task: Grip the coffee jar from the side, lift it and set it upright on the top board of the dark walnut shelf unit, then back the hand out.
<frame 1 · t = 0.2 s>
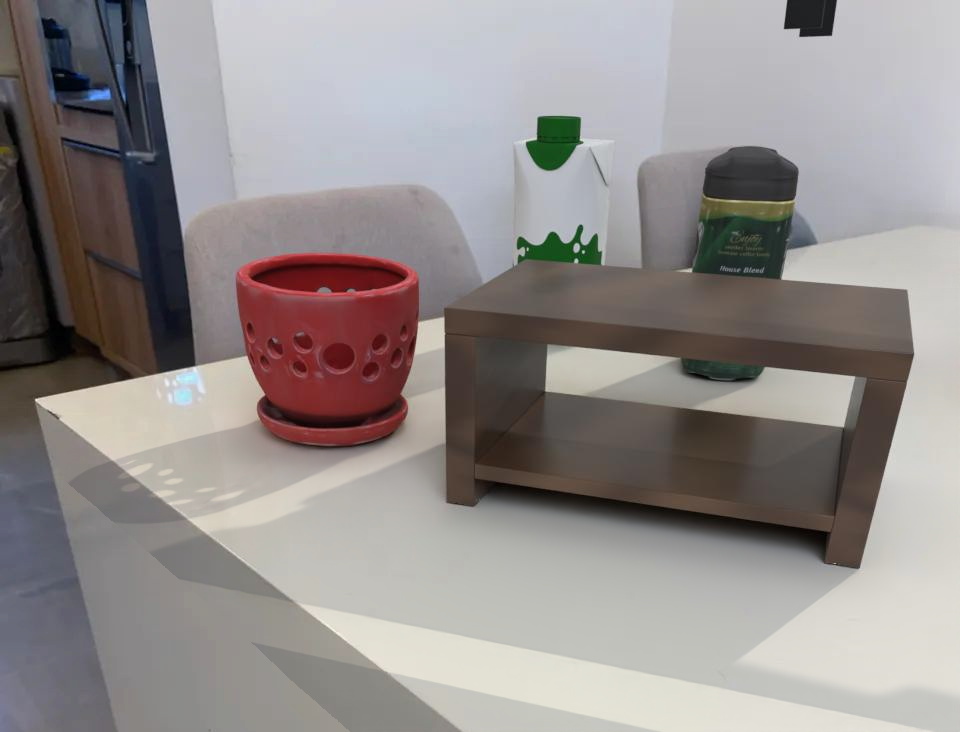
hand: (809, 33, 77), 27 cm above the table, tool pointing down, fingers open, 13 cm apart
flower pot: (338, 431, 74), on the table
coffee jar: (721, 370, 89), on the table
milk carton: (556, 335, 99), on the table
shelf: (663, 486, 65), on the table
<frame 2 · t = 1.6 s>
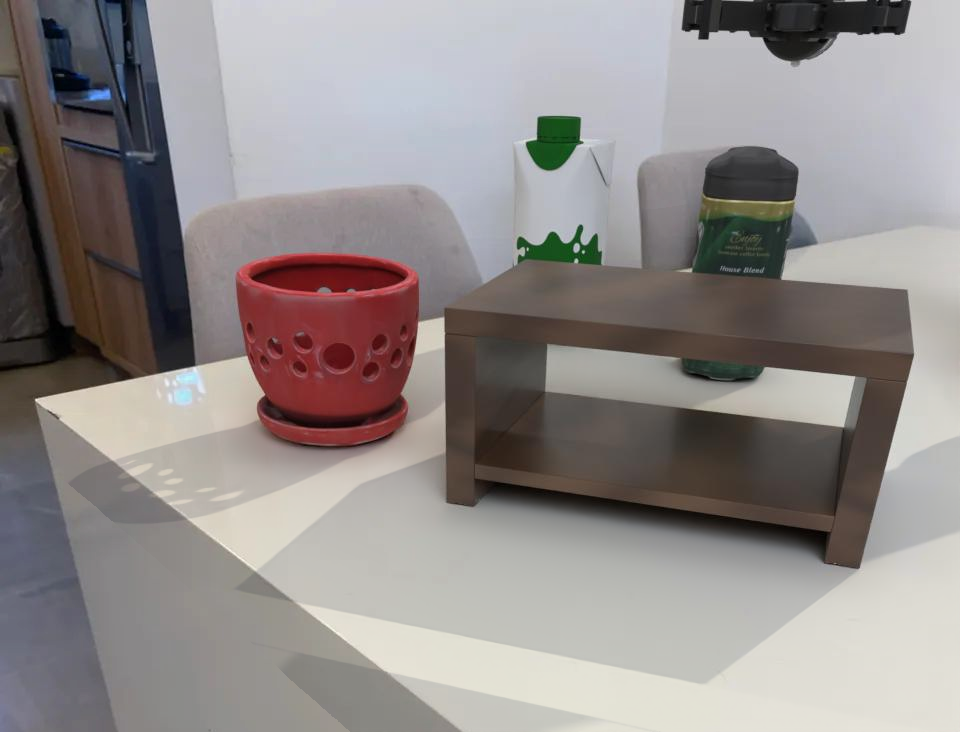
hand: (785, 14, 81), 28 cm above the table, tool horizontal, fingers open, 13 cm apart
nothing on the table moved.
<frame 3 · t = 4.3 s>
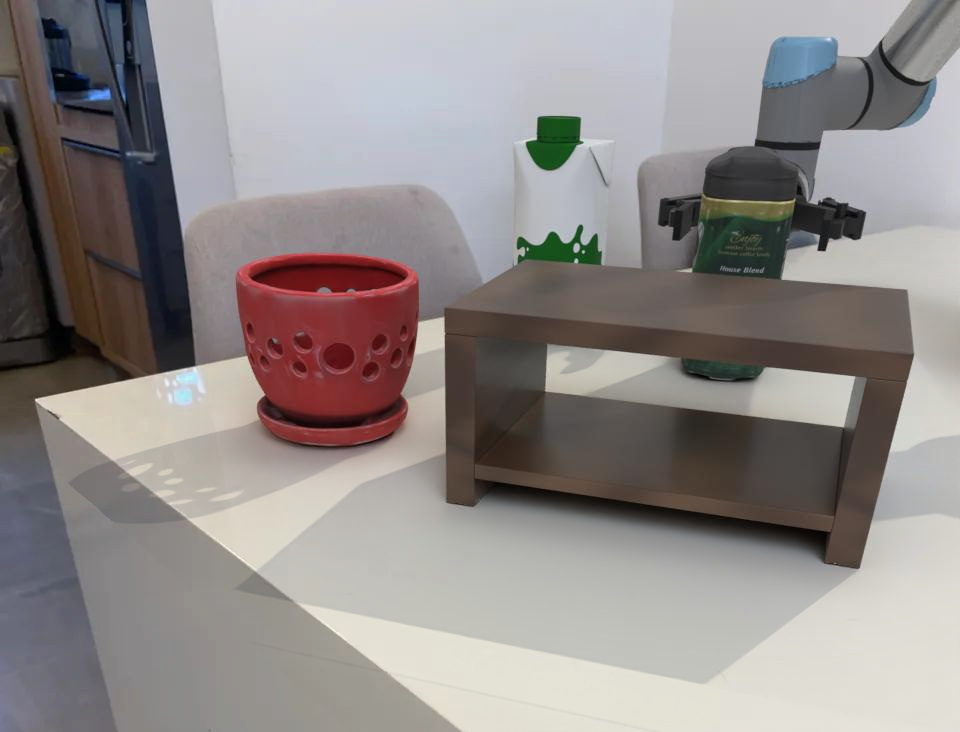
hand: (749, 230, 89), 11 cm above the table, tool horizontal, fingers open, 13 cm apart
nothing on the table moved.
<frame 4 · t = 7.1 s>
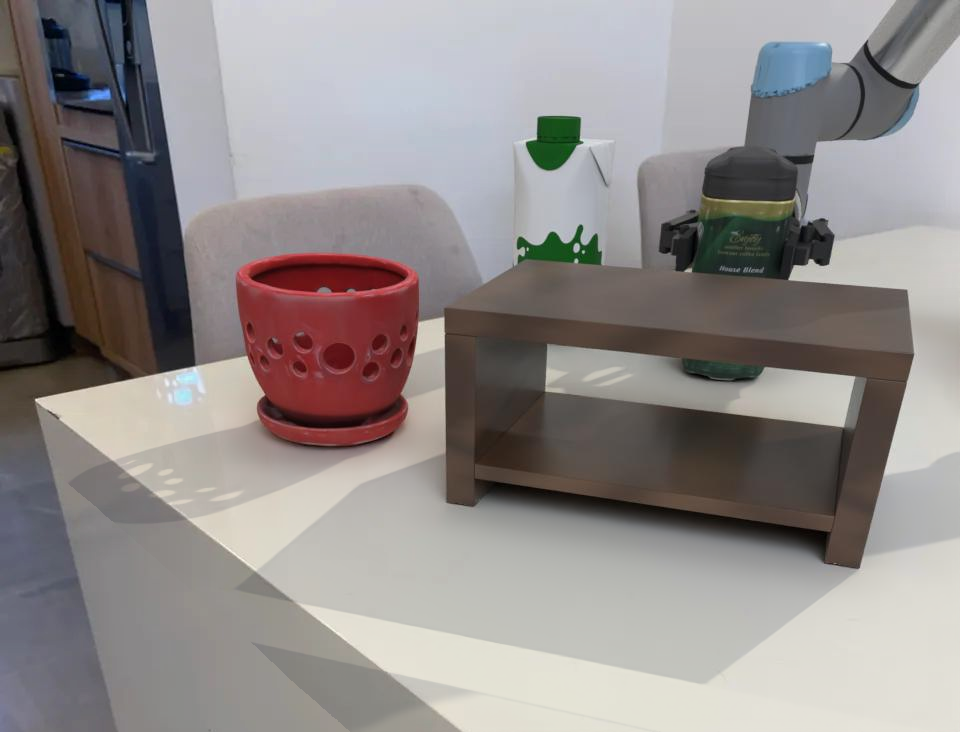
hand: (733, 259, 79), 11 cm above the table, tool horizontal, fingers closed on coffee jar, 8 cm apart
coffee jar: (721, 370, 89), on the table, touching gripper
everything else where it was.
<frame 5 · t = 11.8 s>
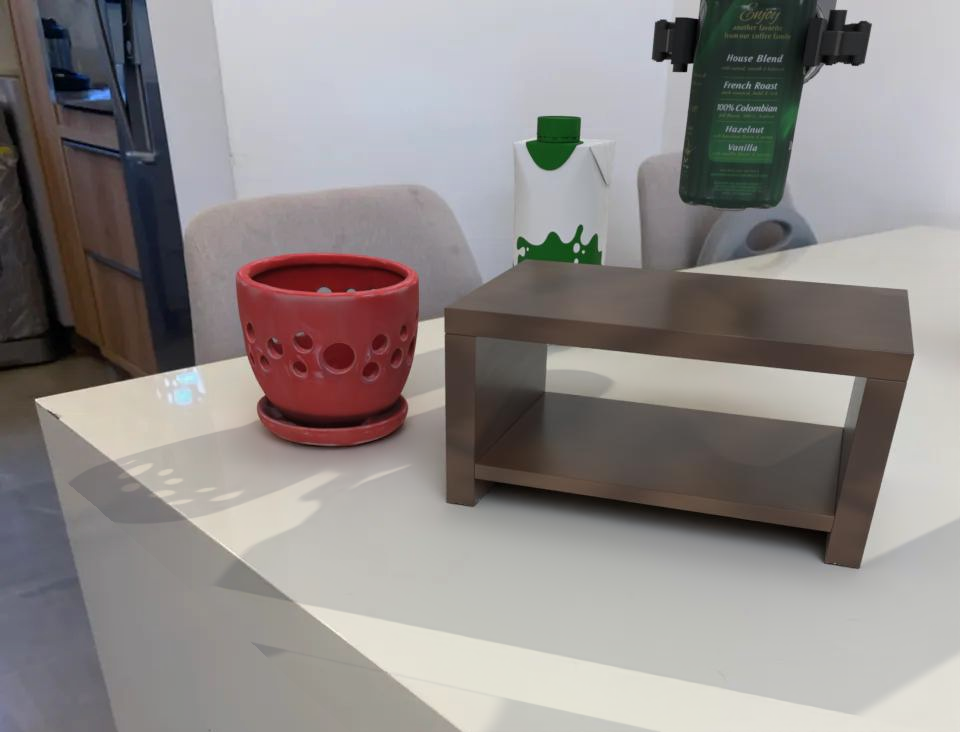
hand: (744, 41, 63), 26 cm above the table, tool horizontal, fingers closed on coffee jar, 8 cm apart
coffee jar: (729, 207, 72), point 15 cm above the table, touching gripper
everything else where it was.
when the fingers open (23 cm above the table, at t = 16.3 s): coffee jar stays where it is, resting on shelf.
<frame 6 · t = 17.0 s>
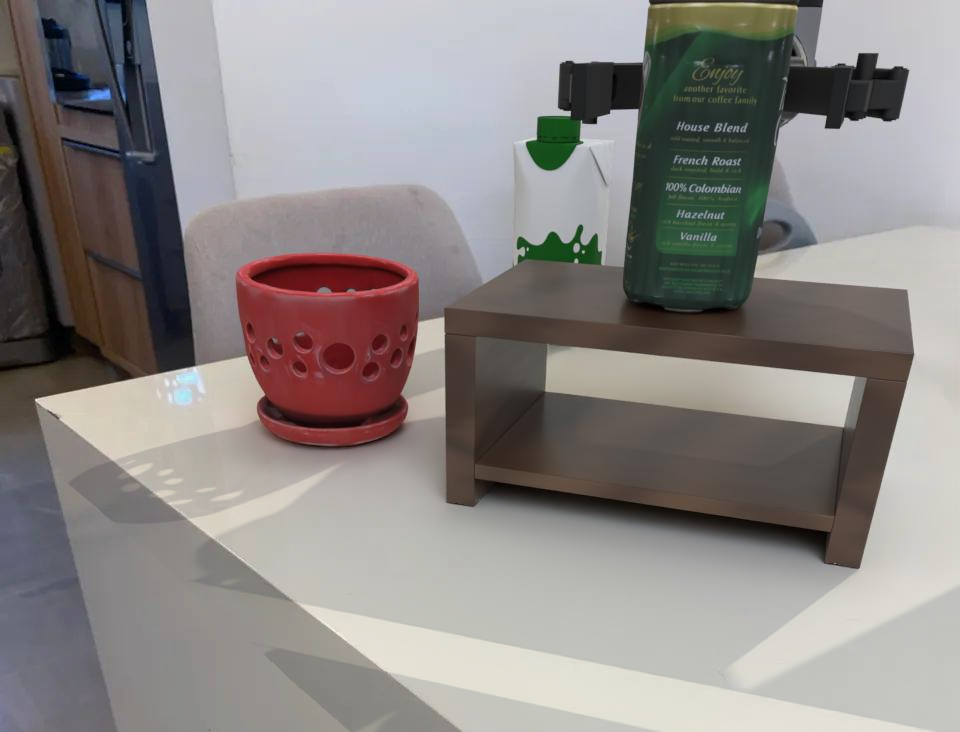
hand: (702, 95, 50), 23 cm above the table, tool horizontal, fingers open, 13 cm apart
coffee jar: (685, 301, 58), point 12 cm above the table, touching shelf
everything else where it was.
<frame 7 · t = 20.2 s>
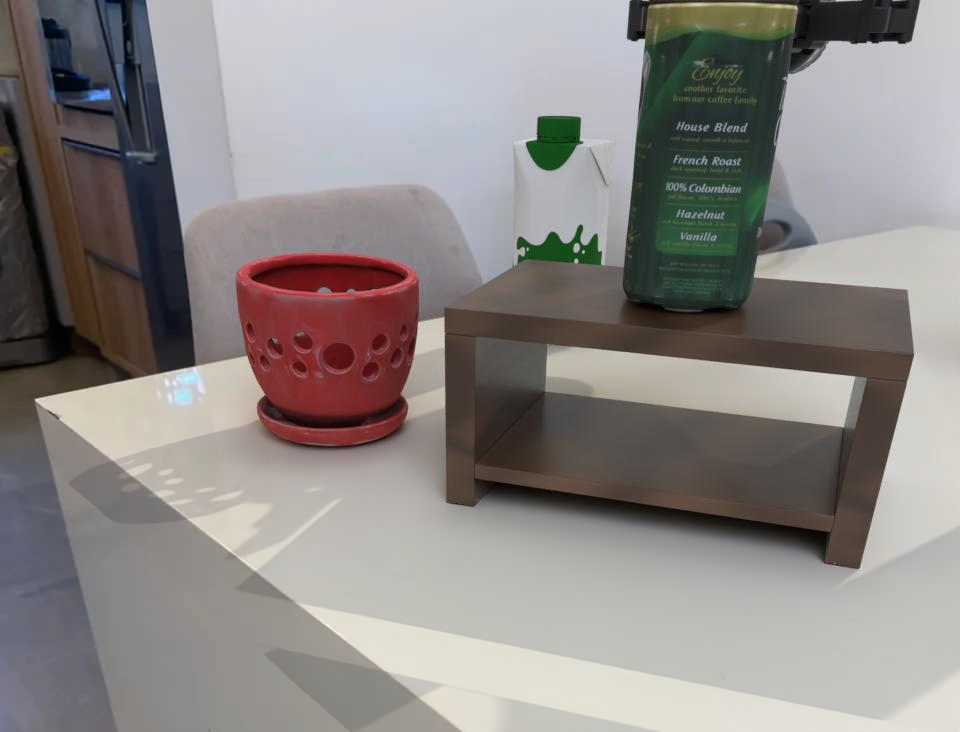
hand: (755, 17, 62), 27 cm above the table, tool horizontal, fingers open, 13 cm apart
nothing on the table moved.
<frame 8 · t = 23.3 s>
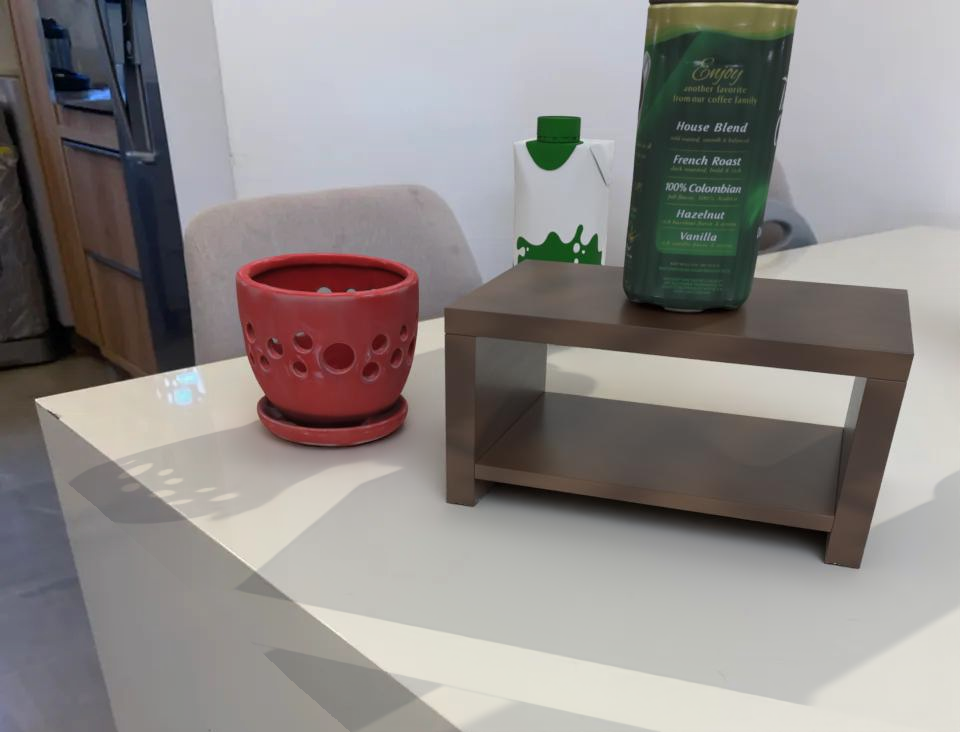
nothing on the table moved.
at the end: coffee jar inside the target area on the shelf (0.0 cm from its centre), point 12.3 cm above the shelf's base; coffee jar tilted 0°; the gripper is holding nothing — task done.
